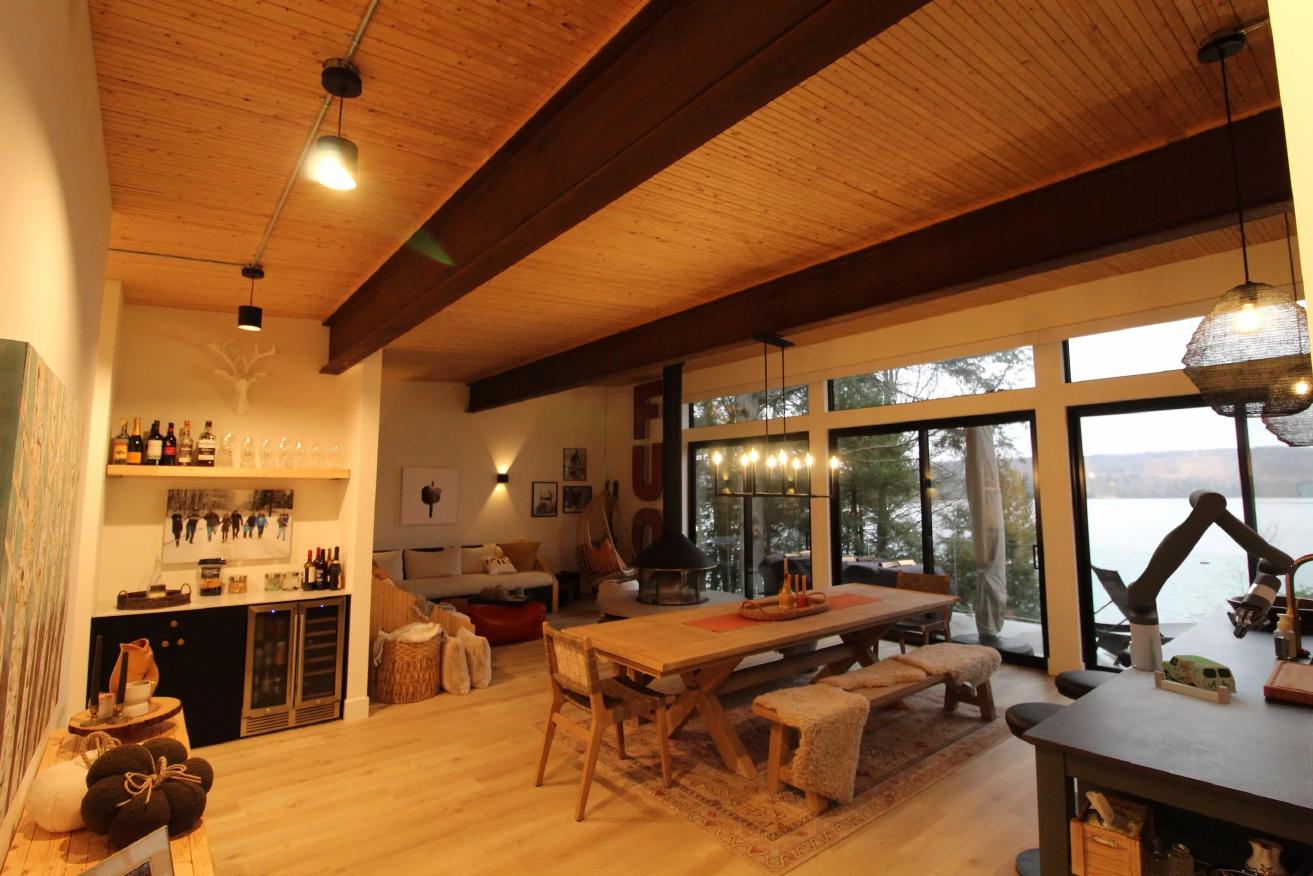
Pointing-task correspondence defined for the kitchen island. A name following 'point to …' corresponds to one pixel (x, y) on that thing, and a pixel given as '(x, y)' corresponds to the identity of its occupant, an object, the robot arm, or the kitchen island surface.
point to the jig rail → (1193, 689)
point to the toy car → (1199, 672)
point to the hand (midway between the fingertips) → (1237, 637)
